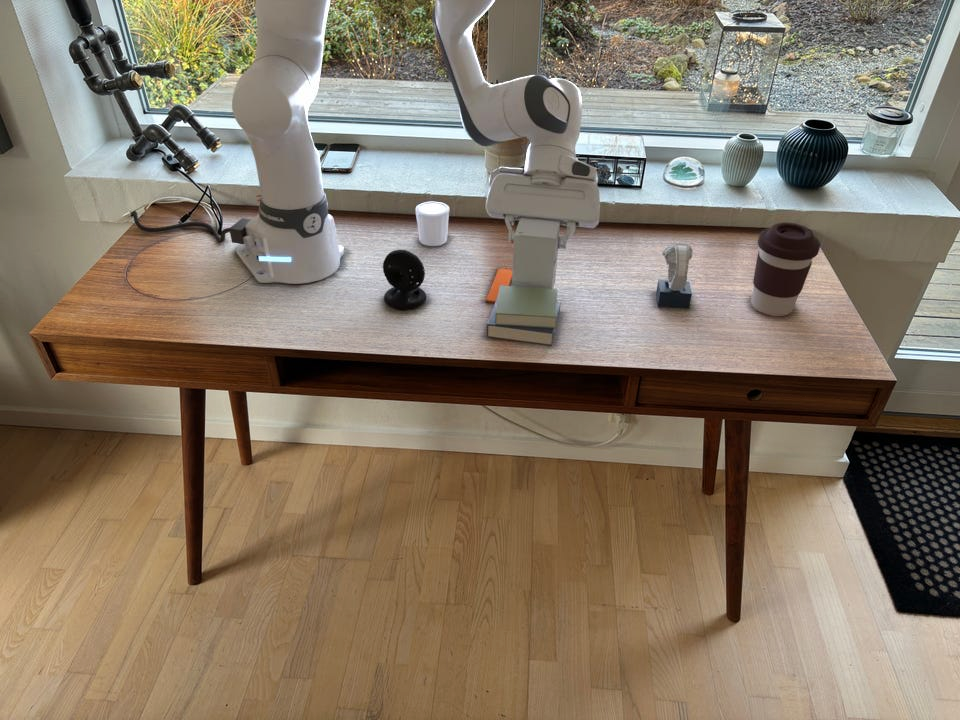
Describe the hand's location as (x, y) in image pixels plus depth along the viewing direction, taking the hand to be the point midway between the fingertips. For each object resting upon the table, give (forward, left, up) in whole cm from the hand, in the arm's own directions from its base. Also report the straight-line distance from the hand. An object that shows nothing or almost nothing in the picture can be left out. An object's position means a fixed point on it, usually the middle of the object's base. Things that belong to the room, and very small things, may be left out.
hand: (537, 245), depth 138 cm
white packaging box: (0, -1, -9) cm, 9 cm away
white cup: (-29, 0, -10) cm, 30 cm away
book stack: (+6, -9, -10) cm, 15 cm away
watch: (+18, +17, -10) cm, 27 cm away
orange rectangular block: (-6, -3, -10) cm, 12 cm away
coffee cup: (+31, +29, -10) cm, 44 cm away
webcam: (-14, -19, -10) cm, 26 cm away
